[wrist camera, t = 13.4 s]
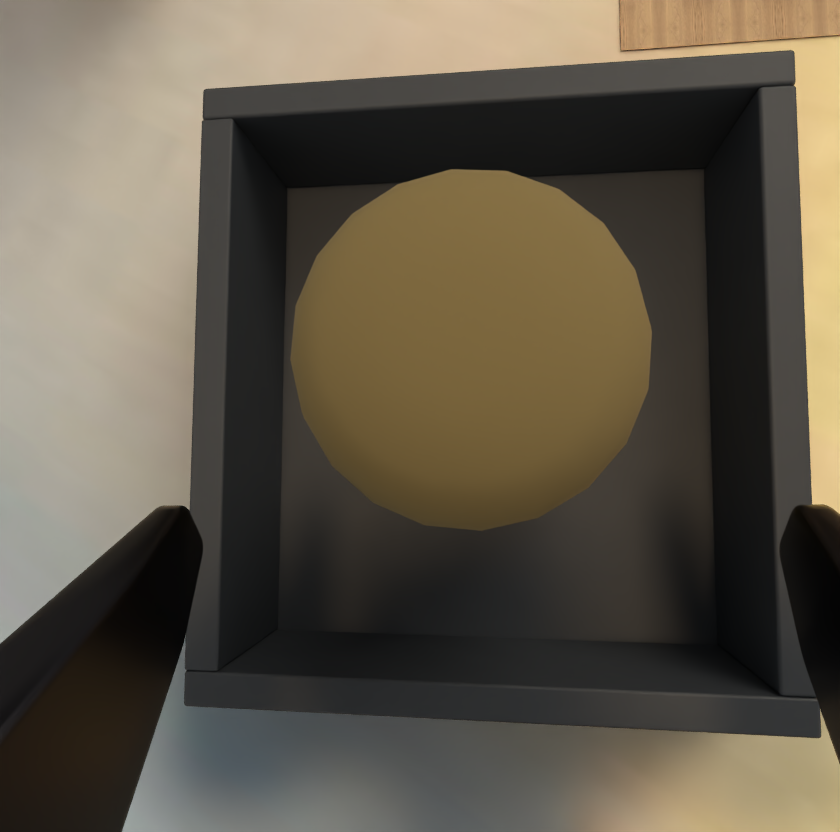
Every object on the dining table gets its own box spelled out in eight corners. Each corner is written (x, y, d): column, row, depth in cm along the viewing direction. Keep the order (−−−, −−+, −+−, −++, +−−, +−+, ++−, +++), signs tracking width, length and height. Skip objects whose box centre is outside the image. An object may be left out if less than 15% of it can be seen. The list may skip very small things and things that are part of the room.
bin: (741, 669, 18) (823, 739, 14) (258, 651, 20) (182, 707, 15) (725, 149, 20) (795, 48, 15) (269, 172, 21) (202, 87, 17)
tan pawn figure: (584, 292, 19) (688, 61, 8) (605, 508, 19) (743, 562, 8) (373, 313, 20) (215, 126, 9) (387, 522, 19) (237, 590, 8)
